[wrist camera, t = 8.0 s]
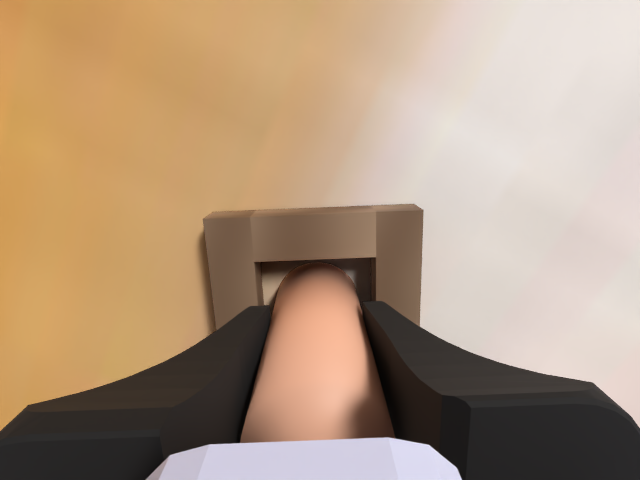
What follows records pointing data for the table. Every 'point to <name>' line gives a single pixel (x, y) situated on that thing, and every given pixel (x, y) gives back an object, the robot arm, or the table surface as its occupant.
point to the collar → (315, 250)
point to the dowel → (317, 365)
